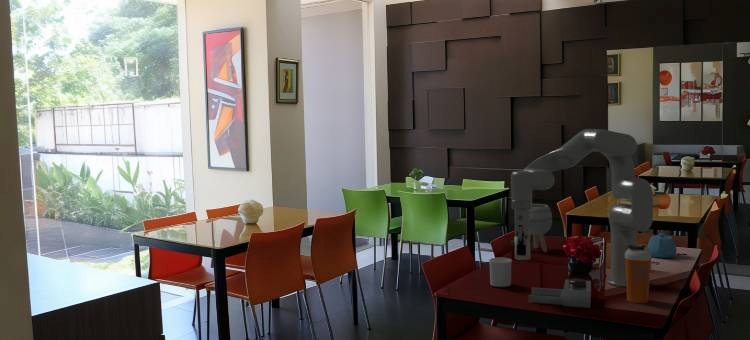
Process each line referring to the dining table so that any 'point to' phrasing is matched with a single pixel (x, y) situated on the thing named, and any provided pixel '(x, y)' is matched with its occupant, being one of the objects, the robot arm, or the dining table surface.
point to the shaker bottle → (637, 273)
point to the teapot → (662, 246)
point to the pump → (527, 242)
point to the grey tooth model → (540, 223)
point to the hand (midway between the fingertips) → (522, 252)
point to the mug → (500, 272)
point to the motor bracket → (564, 294)
